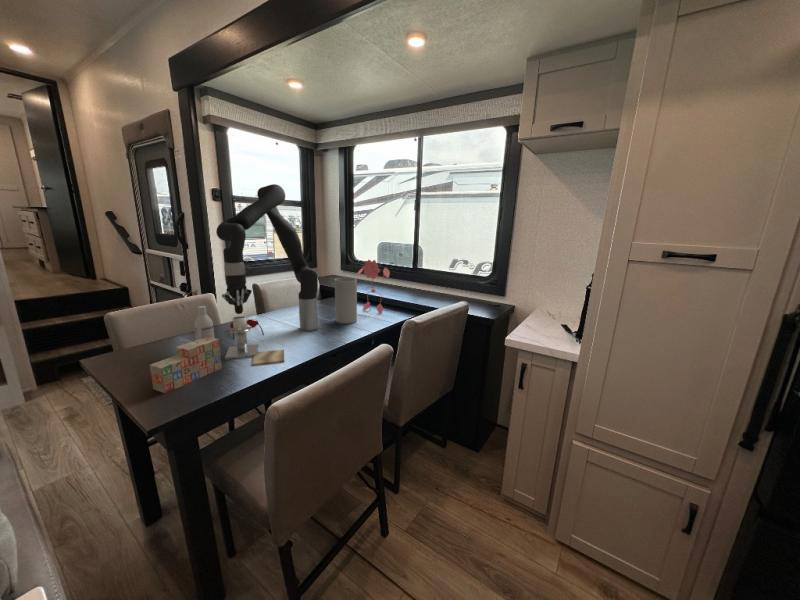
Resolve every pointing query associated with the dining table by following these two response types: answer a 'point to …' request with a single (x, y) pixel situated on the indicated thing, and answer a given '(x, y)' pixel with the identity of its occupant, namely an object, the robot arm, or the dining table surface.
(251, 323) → the glasses
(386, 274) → the figurine
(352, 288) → the cylinder vase
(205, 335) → the bath foam
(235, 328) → the cap
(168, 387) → the stack of blocks
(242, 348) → the knob on square base
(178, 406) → the dining table surface
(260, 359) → the coaster
